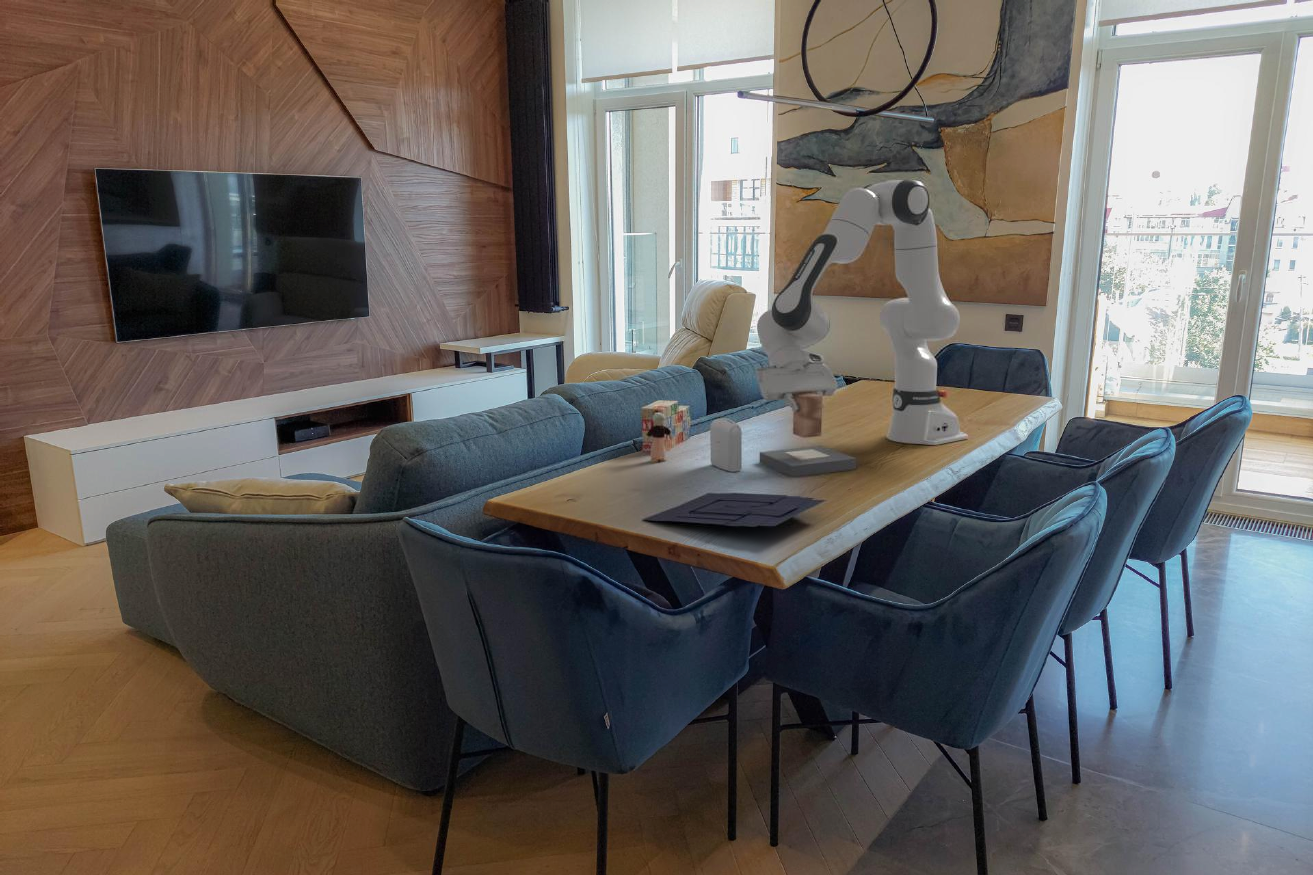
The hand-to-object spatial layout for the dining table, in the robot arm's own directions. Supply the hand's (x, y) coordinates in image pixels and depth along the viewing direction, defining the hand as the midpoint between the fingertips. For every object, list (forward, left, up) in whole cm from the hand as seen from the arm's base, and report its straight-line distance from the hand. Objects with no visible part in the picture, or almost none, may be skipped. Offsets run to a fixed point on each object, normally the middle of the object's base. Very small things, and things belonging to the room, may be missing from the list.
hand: (809, 409), depth 217 cm
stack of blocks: (+22, -39, -15) cm, 47 cm away
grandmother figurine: (+31, -22, -14) cm, 40 cm away
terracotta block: (0, -1, -6) cm, 6 cm away
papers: (+36, +31, -15) cm, 50 cm away
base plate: (0, -1, -14) cm, 14 cm away
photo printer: (+19, -8, -14) cm, 25 cm away
